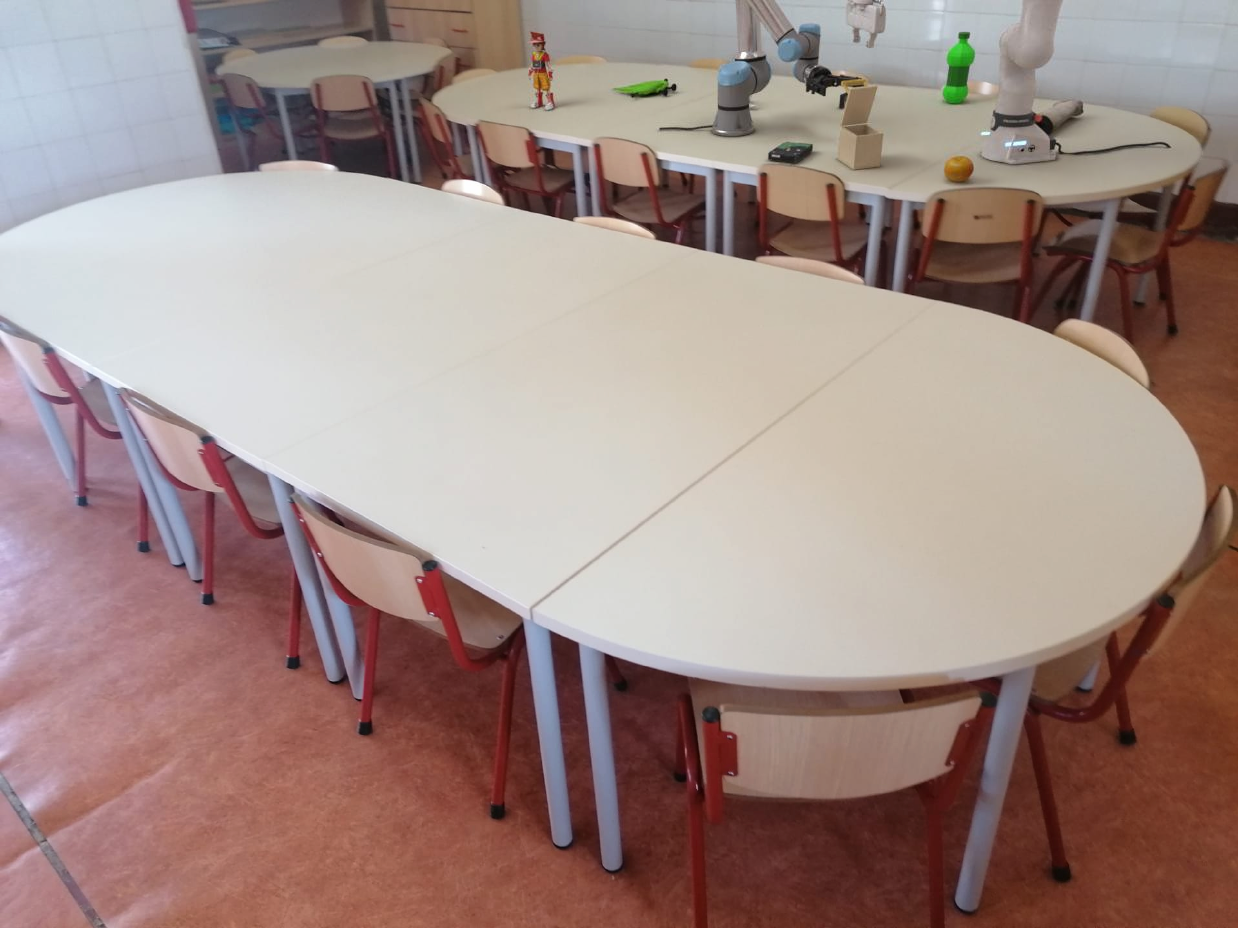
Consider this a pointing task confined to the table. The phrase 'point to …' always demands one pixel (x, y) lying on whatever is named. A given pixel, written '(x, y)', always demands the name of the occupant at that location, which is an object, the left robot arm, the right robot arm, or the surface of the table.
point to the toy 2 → (648, 88)
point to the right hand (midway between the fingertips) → (863, 45)
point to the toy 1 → (541, 71)
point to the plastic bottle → (958, 69)
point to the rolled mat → (1059, 114)
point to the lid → (858, 102)
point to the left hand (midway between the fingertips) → (844, 90)
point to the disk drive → (790, 152)
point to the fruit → (958, 168)
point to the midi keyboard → (843, 100)
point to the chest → (860, 146)
